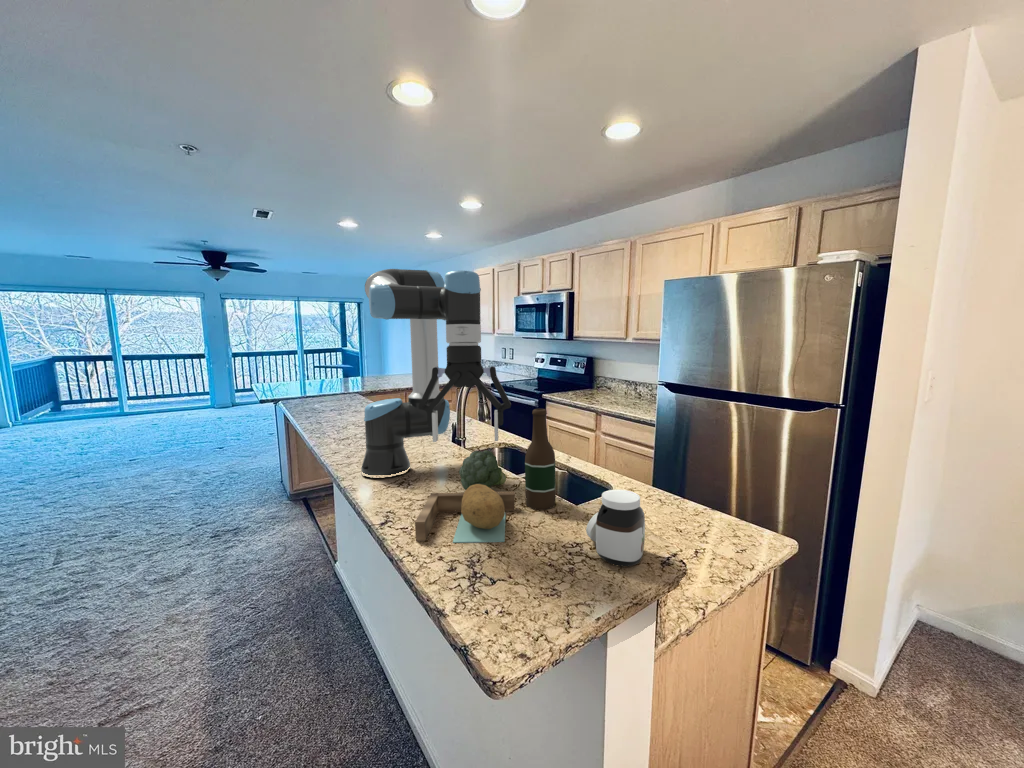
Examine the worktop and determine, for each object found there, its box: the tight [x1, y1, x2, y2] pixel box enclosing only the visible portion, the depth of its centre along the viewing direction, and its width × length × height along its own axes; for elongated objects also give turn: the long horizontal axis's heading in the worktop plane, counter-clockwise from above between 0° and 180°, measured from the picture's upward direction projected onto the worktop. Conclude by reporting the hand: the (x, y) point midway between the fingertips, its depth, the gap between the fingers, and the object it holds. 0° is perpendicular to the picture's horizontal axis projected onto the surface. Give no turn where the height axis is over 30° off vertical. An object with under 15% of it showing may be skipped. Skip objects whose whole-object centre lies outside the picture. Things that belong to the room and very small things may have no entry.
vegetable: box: [458, 449, 507, 491], centre depth 110 cm, size 12×13×15 cm
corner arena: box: [414, 491, 516, 542], centre depth 90 cm, size 16×20×4 cm
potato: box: [460, 484, 506, 529], centre depth 88 cm, size 10×14×8 cm
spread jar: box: [585, 489, 646, 567], centre depth 76 cm, size 12×11×12 cm
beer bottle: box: [524, 408, 557, 511], centre depth 99 cm, size 8×8×24 cm
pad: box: [452, 511, 507, 544], centre depth 88 cm, size 14×10×1 cm
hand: (466, 440), depth 89 cm, fingers open, 13 cm apart
